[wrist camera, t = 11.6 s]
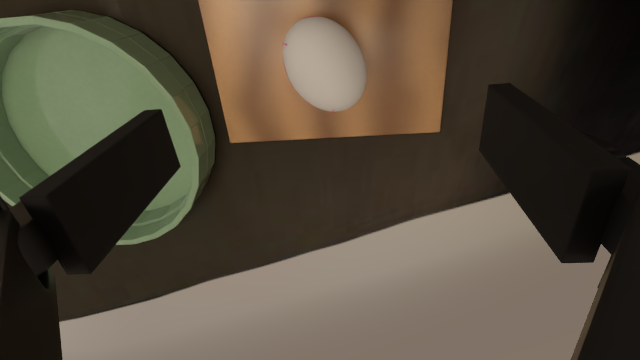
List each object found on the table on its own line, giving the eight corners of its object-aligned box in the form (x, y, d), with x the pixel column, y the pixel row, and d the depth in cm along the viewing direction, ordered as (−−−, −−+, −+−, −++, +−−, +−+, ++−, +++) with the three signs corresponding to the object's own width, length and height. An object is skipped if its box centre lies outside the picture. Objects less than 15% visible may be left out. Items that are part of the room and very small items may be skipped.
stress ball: (288, 29, 32) (240, 65, 28) (349, -19, 26) (298, 19, 22) (334, 98, 35) (296, 139, 31) (400, 68, 29) (362, 115, 25)
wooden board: (455, -46, 26) (457, -46, 26) (438, 130, 33) (439, 132, 33) (195, -22, 28) (193, -22, 27) (231, 141, 35) (230, 143, 34)
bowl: (183, -1, 29) (155, 4, 24) (235, 212, 39) (222, 242, 35) (-54, 20, 30) (-119, 28, 26) (57, 218, 41) (24, 247, 37)
